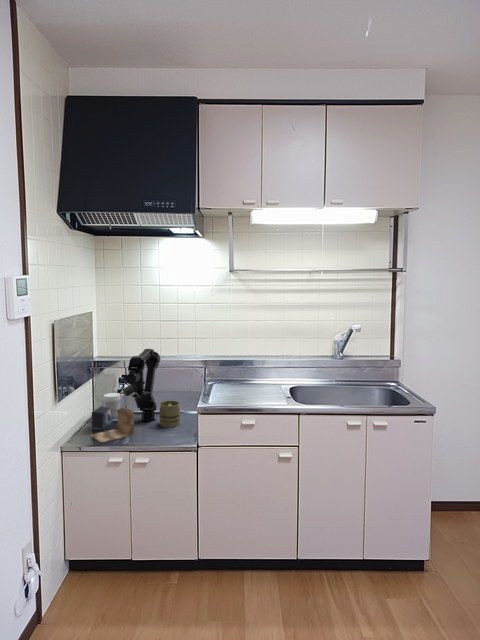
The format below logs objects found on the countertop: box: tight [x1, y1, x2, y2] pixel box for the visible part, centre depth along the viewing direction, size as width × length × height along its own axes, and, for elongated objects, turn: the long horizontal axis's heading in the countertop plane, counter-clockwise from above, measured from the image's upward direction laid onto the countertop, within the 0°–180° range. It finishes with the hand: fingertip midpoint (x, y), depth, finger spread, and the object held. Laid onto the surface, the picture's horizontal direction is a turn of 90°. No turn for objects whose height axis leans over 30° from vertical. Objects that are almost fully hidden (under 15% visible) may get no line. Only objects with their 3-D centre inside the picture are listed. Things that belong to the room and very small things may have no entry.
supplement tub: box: [103, 392, 122, 422], centre depth 275 cm, size 10×10×15 cm
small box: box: [91, 406, 112, 432], centre depth 260 cm, size 11×6×10 cm, turn 168°
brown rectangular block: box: [117, 407, 135, 436], centre depth 253 cm, size 5×9×12 cm, turn 40°
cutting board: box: [90, 428, 127, 444], centre depth 247 cm, size 14×13×1 cm
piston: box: [159, 400, 181, 428], centre depth 266 cm, size 11×12×11 cm
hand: (138, 407), depth 258 cm, fingers closed
